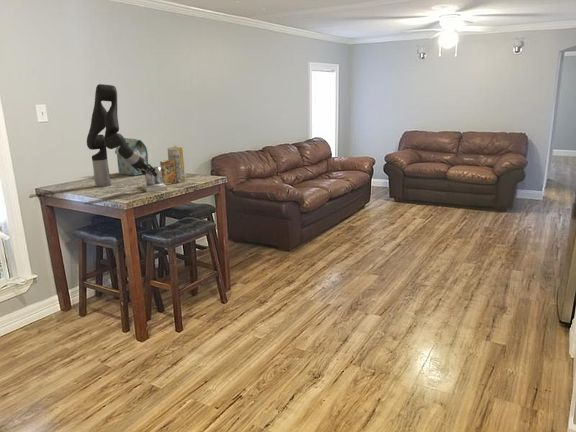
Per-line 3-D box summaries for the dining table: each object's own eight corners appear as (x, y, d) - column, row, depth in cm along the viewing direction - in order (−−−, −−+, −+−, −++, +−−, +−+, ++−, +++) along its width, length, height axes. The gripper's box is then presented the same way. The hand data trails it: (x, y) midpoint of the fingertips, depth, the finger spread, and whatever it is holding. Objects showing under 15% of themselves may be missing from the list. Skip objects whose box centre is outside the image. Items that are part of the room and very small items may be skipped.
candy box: (166, 185, 291) (164, 161, 287) (162, 184, 293) (159, 161, 289) (176, 182, 298) (174, 159, 294) (172, 182, 300) (170, 159, 296)
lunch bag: (115, 174, 340) (111, 138, 333) (135, 171, 352) (131, 136, 345) (132, 177, 325) (127, 139, 318) (152, 173, 337) (147, 137, 330)
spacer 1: (147, 186, 272) (145, 169, 269) (146, 184, 276) (144, 168, 273) (155, 185, 274) (153, 168, 271) (153, 184, 278) (151, 168, 275)
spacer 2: (155, 184, 277) (153, 168, 274) (154, 183, 281) (152, 167, 278) (162, 183, 279) (161, 167, 276) (161, 182, 282) (159, 166, 280)
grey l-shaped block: (147, 192, 271) (144, 173, 268) (142, 188, 284) (140, 170, 281) (167, 189, 276) (165, 171, 273) (161, 185, 289) (160, 168, 286)
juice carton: (187, 180, 304) (184, 145, 298) (180, 182, 297) (176, 146, 291) (176, 179, 308) (173, 144, 302) (169, 182, 301) (165, 146, 295)
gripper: (145, 154, 260) (162, 171, 272) (129, 153, 267) (146, 169, 280) (138, 164, 257) (156, 181, 269) (122, 163, 264) (140, 179, 277)
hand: (151, 175), depth 274 cm, fingers open, 8 cm apart
